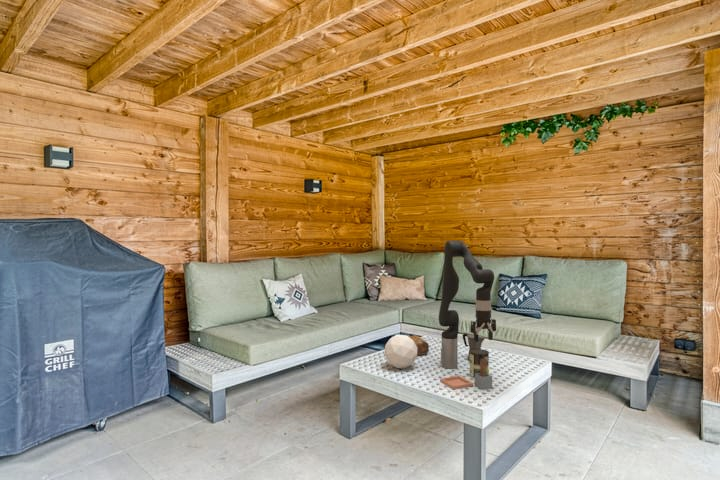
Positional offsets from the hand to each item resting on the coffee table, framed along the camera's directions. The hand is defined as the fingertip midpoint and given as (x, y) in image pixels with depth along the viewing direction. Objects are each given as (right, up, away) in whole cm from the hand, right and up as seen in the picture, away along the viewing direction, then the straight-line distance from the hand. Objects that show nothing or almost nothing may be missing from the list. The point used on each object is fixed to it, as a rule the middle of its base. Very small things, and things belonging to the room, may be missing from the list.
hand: (483, 340), depth 210 cm
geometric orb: (-38, -24, +35) cm, 57 cm away
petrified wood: (-25, -24, +65) cm, 73 cm away
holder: (0, -25, 0) cm, 24 cm away
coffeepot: (+8, -24, +48) cm, 54 cm away
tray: (-13, -25, +5) cm, 28 cm away
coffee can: (+3, -24, +18) cm, 30 cm away
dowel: (0, -24, 0) cm, 24 cm away
